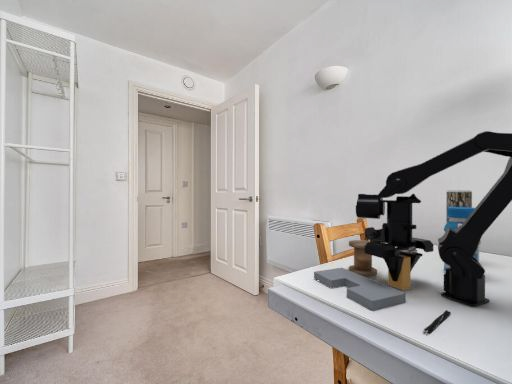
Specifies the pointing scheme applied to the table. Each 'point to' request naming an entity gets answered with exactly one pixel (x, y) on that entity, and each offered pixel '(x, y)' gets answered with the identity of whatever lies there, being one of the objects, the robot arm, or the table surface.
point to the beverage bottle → (458, 223)
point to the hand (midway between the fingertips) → (399, 280)
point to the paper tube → (458, 200)
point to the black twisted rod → (436, 322)
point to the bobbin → (362, 259)
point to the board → (361, 288)
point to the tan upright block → (402, 275)
